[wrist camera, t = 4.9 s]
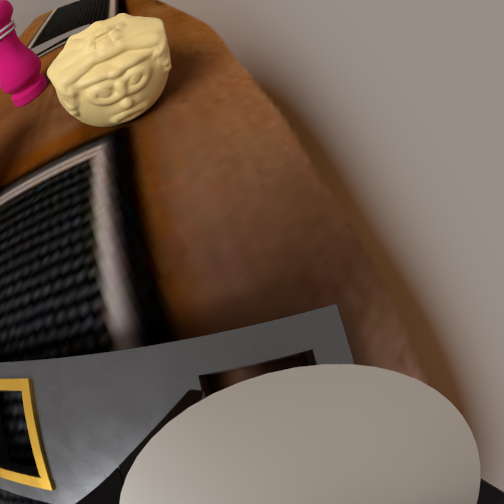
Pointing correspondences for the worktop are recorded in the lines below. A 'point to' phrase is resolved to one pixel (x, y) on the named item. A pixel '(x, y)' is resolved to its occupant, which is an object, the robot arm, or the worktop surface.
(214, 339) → the grey board with holes
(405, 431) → the peg
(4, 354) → the worktop surface
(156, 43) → the sculpture
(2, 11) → the pepper mill
